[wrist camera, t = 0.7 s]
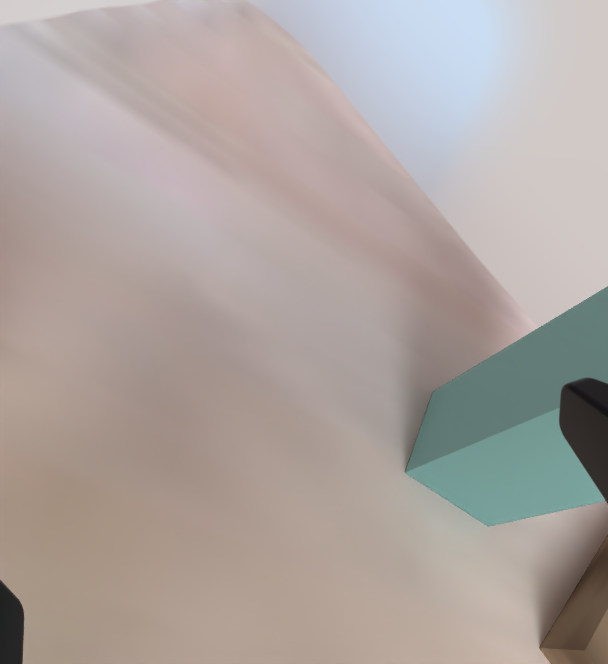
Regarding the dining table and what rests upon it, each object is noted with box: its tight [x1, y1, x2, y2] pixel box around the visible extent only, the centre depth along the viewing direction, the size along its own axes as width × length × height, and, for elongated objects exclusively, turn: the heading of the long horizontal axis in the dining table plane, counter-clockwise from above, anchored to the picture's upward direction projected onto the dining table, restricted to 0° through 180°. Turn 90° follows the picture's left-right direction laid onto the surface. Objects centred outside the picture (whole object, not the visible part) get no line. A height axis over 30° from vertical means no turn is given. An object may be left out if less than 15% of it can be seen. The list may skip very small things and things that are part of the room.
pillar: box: [405, 287, 608, 526], centre depth 22 cm, size 5×5×13 cm
